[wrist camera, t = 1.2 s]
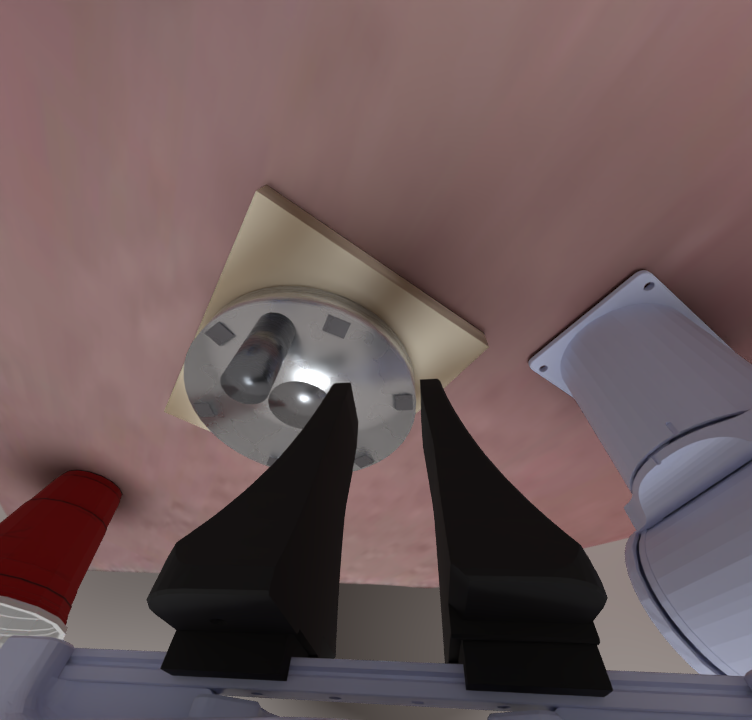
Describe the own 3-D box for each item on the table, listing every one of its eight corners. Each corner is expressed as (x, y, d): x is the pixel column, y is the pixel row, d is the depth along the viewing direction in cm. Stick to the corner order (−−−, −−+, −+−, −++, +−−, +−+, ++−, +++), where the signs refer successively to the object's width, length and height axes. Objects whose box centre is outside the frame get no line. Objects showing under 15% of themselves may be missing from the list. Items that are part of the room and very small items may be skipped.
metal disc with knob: (418, 450, 26) (423, 537, 21) (242, 454, 27) (205, 536, 22) (410, 276, 18) (414, 347, 12) (159, 295, 19) (68, 365, 14)
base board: (483, 333, 21) (489, 348, 20) (339, 470, 31) (336, 487, 29) (265, 184, 17) (254, 190, 16) (174, 397, 26) (162, 413, 25)
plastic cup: (172, 506, 36) (89, 651, 26) (99, 521, 39) (1, 657, 29) (87, 441, 30) (-59, 598, 21) (9, 465, 33) (-152, 611, 23)
